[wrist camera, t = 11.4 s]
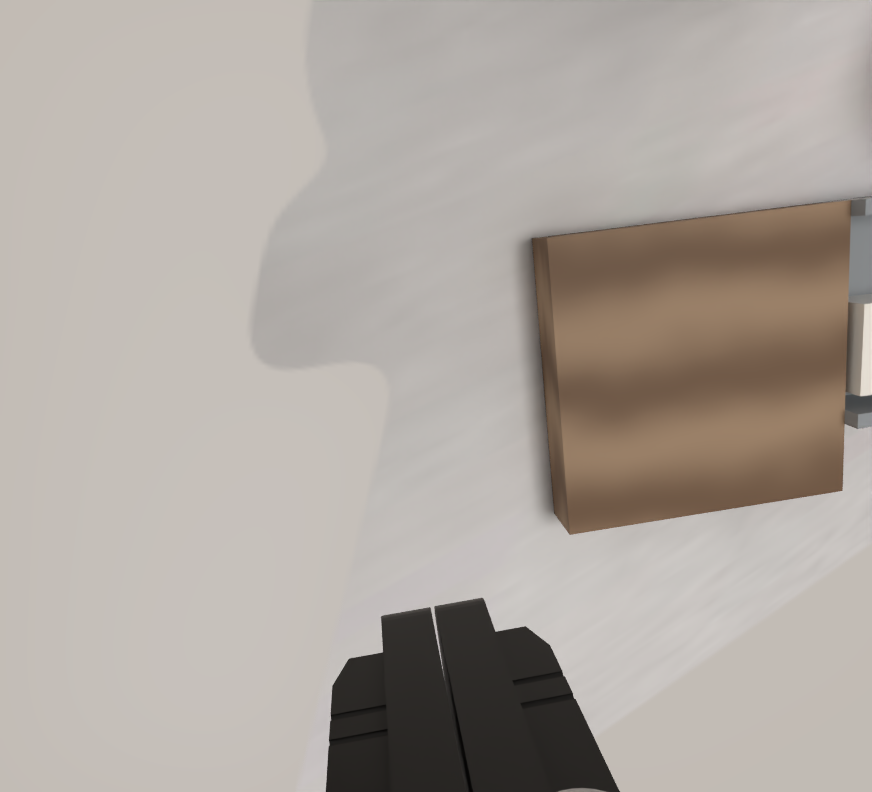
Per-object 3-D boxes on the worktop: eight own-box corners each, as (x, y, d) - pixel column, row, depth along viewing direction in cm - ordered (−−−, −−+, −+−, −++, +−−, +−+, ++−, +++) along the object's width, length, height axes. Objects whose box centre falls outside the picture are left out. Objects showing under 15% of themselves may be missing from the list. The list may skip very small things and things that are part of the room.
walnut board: (532, 238, 35) (547, 238, 32) (812, 203, 37) (851, 200, 34) (554, 513, 39) (569, 534, 36) (807, 472, 40) (842, 490, 37)
